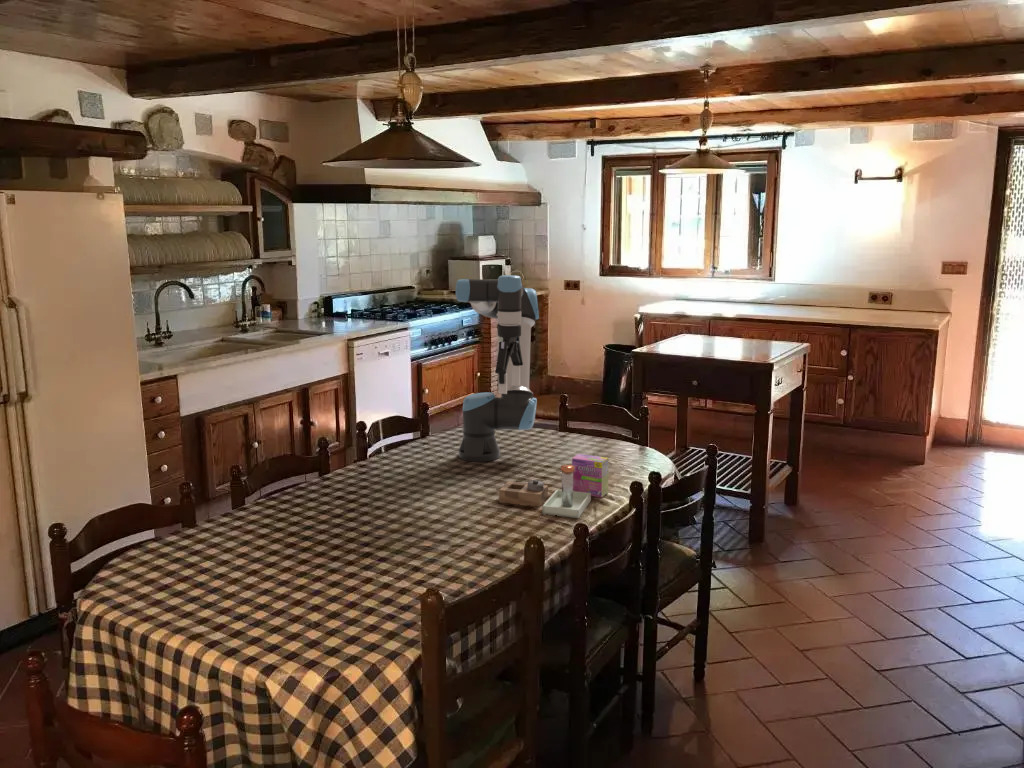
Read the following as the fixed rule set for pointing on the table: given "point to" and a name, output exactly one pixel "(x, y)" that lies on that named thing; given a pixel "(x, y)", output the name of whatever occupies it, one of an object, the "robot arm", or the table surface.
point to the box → (590, 474)
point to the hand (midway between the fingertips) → (509, 389)
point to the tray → (556, 508)
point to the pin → (567, 485)
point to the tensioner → (524, 493)
